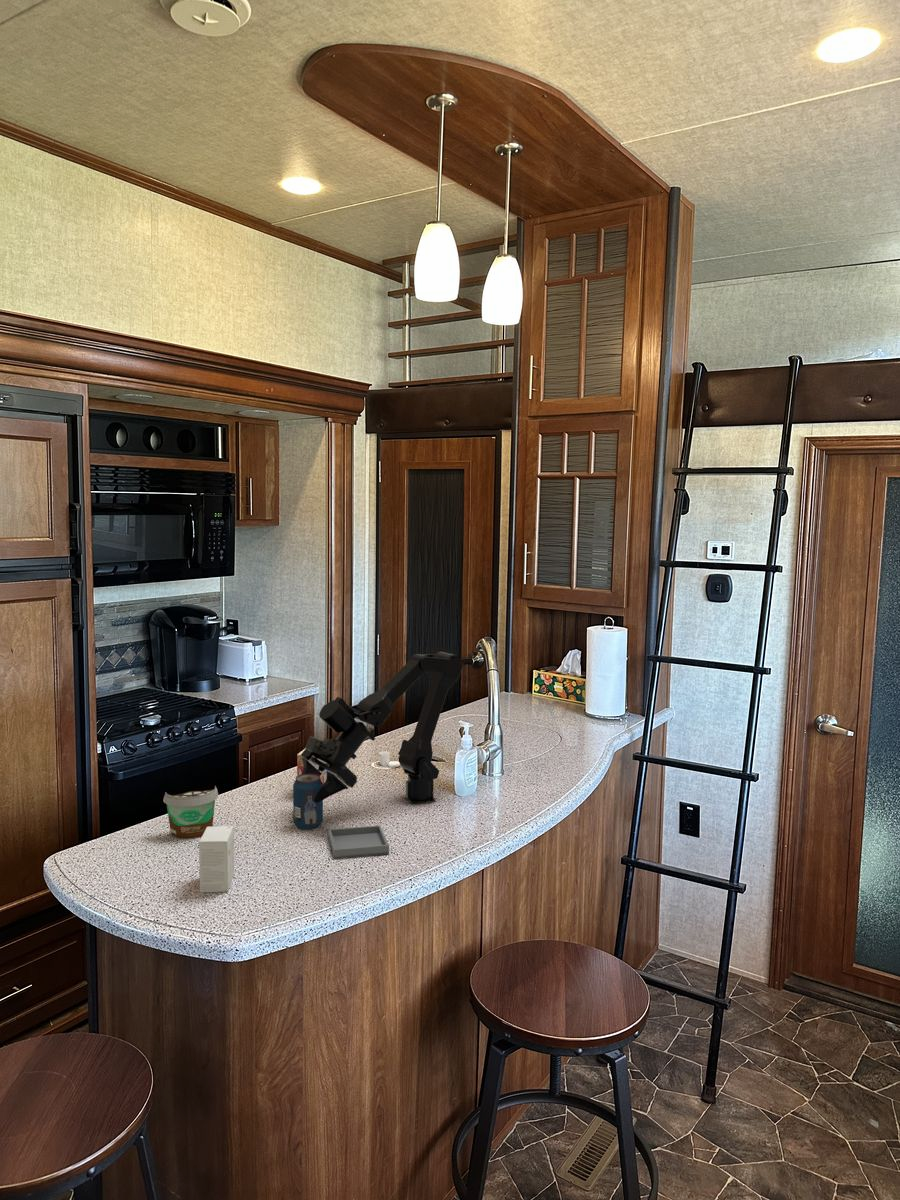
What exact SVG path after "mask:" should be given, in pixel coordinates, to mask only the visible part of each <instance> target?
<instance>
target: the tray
mask: <svg viewBox="0 0 900 1200" xmlns="http://www.w3.org/2000/svg"><path fill="white" fill-rule="evenodd" d="M327 833H328V842H329V845H330V849H331V853H332V856H333V857H332V858H333V859H334V860H337V859H338V860H339V859H348V858H360V857H362V858H363V857H372V856H383V855H390V845H389V844H390V843H388V839H387V838H386V835H385V833H384V830H383V828H382V827H381V825H380V824H379V825H378V824H377V825H365V826H355V827H354V826H352V827H343V828H342V827H341V828H340V827H339V828H329V829H328V831H327Z"/></svg>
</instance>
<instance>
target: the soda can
mask: <svg viewBox="0 0 900 1200" xmlns="http://www.w3.org/2000/svg"><path fill="white" fill-rule="evenodd" d="M292 786H293V787H292V792H293V793H292V795H293V796H292V797H293V799H292V804H293V805H292V809H293V811H292V812H293V813H292V814H293V815H292V816H293V817H292V818H293V824H294V826H295V828H296V829H297V830H299V831H304V832H306V831H307V832H309V831H315V830H317V829H319V828H320V827H321V825H322V824H323V821H324V800H322V801H320V802H318V803H316V802H315V801H314V799H315V797H316V795H317V793H318V792H319V790H320V789H321V787H322V786H323V783H322V781H321V779H320V776H319V775H317V774H301V775H298V776H296V777H295V781H294V783H293V784H292Z"/></svg>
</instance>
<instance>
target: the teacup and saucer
mask: <svg viewBox="0 0 900 1200" xmlns="http://www.w3.org/2000/svg"><path fill="white" fill-rule="evenodd" d="M390 755H391V753H390V752H389V751H379V752H378V753H377V754H376V757H377V761H374V762H372V763H371V764H370V765H371V766H370V767H372V768H374V769H379V770H389V769H390V770H391V769H394V768H398V767H401V766H400V763H399V760H398V761H397V760H396V761H393V760H390V758H391V757H390ZM389 761H390V762H389ZM376 762H380V763H379V764H380V766H381V767H380V766H376V765H375V766H376V767H375V766H374V763H376ZM387 766H388V767H387Z"/></svg>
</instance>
